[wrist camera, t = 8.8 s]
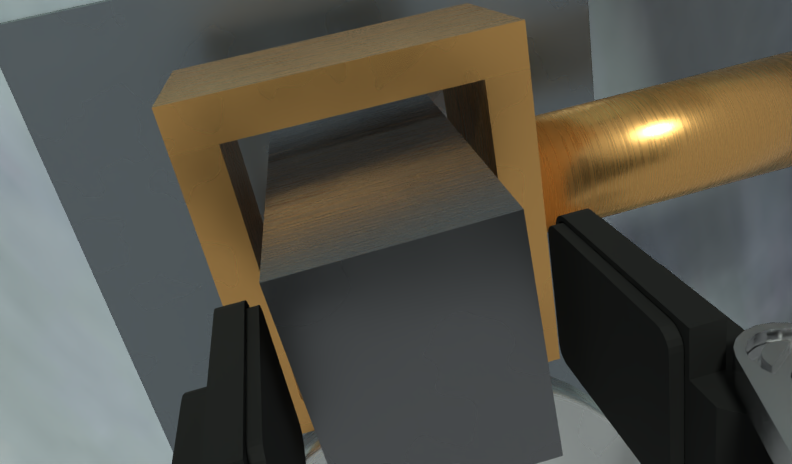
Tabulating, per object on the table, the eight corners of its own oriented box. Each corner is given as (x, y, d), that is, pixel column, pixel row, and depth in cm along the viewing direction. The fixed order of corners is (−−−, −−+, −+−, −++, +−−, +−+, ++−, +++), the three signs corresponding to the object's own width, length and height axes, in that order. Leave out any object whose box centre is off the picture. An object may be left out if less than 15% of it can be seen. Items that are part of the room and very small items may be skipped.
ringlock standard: (-5, 24, 20) (-565, 211, 6) (703, -130, 22) (1432, -243, 8) (220, 536, 29) (196, 1052, 16) (698, 391, 31) (1037, 731, 18)
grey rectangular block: (271, 110, 19) (259, 283, 10) (409, 73, 19) (523, 208, 10) (321, 263, 21) (348, 519, 12) (443, 228, 21) (563, 455, 12)
